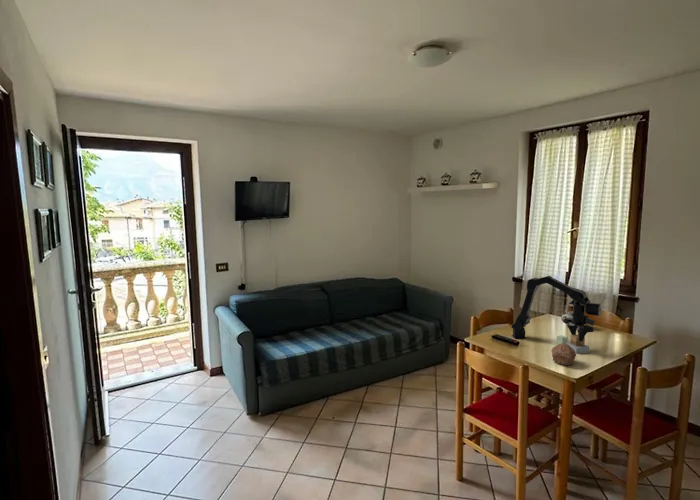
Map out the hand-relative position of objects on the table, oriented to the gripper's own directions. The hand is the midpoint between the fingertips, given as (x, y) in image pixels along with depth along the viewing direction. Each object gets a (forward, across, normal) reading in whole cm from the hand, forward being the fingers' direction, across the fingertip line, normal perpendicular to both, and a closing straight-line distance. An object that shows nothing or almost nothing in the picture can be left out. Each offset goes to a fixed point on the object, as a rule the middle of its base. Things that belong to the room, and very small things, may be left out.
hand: (577, 339), depth 217 cm
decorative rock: (+7, -16, +18) cm, 25 cm away
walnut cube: (+3, 0, 0) cm, 3 cm away
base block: (+7, 0, 0) cm, 7 cm away
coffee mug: (+7, +42, -24) cm, 49 cm away
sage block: (+7, +13, +1) cm, 15 cm away
